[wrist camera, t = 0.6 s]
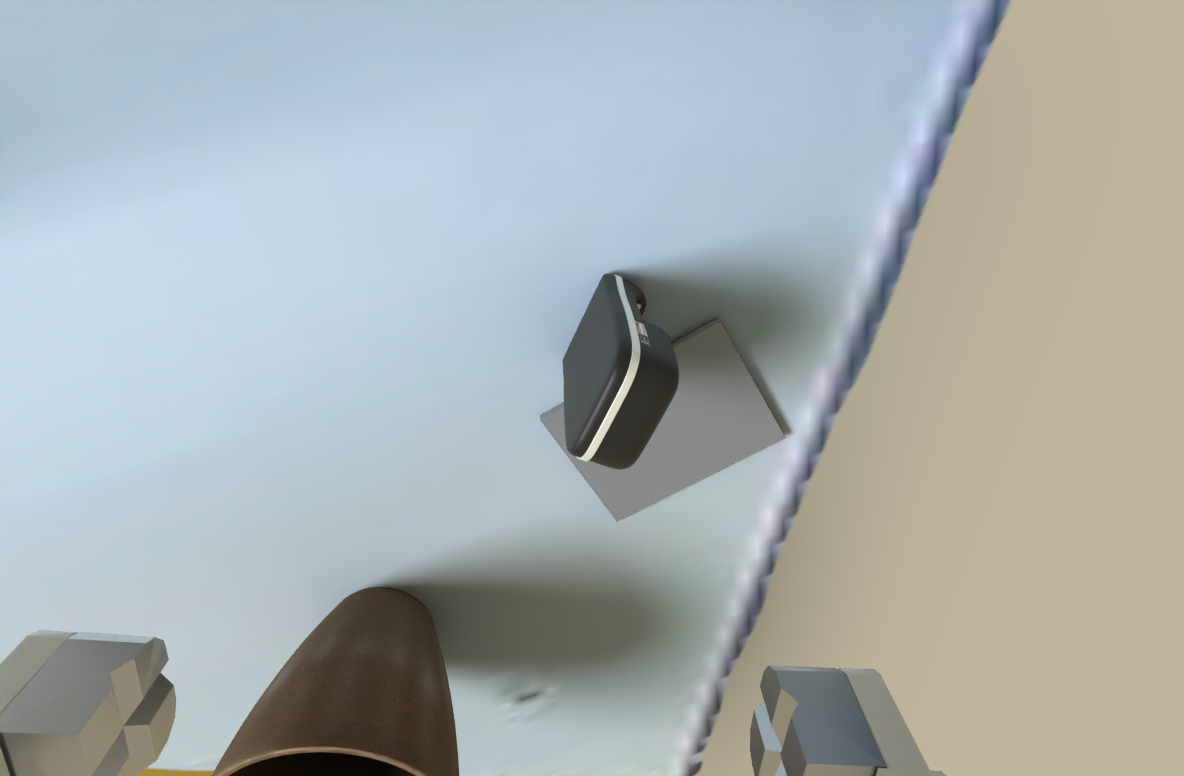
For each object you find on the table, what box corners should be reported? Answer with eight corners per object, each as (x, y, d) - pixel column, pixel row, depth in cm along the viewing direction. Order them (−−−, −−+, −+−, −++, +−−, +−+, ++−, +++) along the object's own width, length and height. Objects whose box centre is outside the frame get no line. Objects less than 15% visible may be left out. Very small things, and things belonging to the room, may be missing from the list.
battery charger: (613, 383, 47) (632, 492, 37) (559, 363, 46) (563, 469, 36) (663, 289, 44) (697, 380, 34) (605, 265, 43) (623, 352, 33)
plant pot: (254, 557, 52) (150, 768, 38) (462, 535, 52) (433, 737, 39) (312, 696, 60) (242, 915, 46) (495, 676, 60) (480, 889, 46)
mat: (540, 415, 48) (540, 420, 47) (718, 317, 45) (720, 321, 45) (616, 516, 52) (617, 521, 52) (782, 432, 50) (785, 437, 49)
